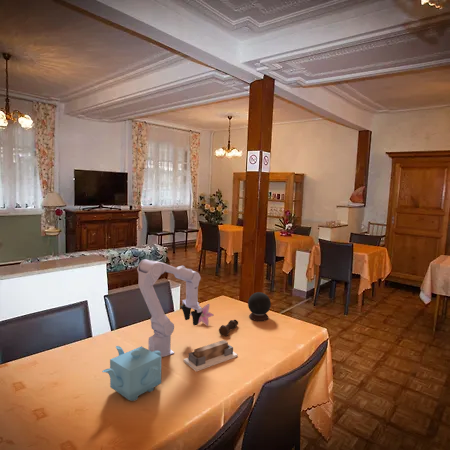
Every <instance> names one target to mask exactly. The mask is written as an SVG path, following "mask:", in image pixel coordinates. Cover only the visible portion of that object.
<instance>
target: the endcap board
mask: <svg viewBox="0 0 450 450" xmlns="http://www.w3.org/2000/svg"><path fill="white" fill-rule="evenodd" d="M238 356H239V355H238V353H236V352H235V351H234V347H233V346H231V345H230V344H229V343H228V348H226V349H224V354H223V355H221V356H218V357H215V358H212V359H209V360H206V357H205V356H203V357H200V358H197V357H195V356H194V351H192V352H188V357H186V358H183V362H184V363H185V364H186V365H187V366H188V367H190V368H191V369H193V370H194V371H195V372H199V371H202V370H204V369H207V368H209V367H213V366H215V365H218V364H220V363H223V362H224V363H225V362H227V361H228V360H232V359H235V358H237V357H238ZM205 360H206V361H205Z"/></svg>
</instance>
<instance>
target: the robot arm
mask: <svg viewBox="0 0 450 450" xmlns="http://www.w3.org/2000/svg"><path fill="white" fill-rule="evenodd" d="M136 270H137V274H138V280H137V281H138V285H137V286H138V288H139V290H140V292H141V293H140V294H141V295H142V297H143V300H144V302H145V303H146V306H147V308H148V311H149V313H150V315H151V318H150V323H151V324H150V327H151V329H152V330H153V335H151V336H150V337H148V350H150V351H152V352H153V351H160V352H161V358H163V357H164V358H165V357H168V356H170V355H174V354H175V351H173V350H172V349H171V342H172V340H171V339H172V338H171V337H172V334H173V333H174V331H175V324H174V323H173V322H172V321H171V319H170V318H169V317H168V316H167V315H166V314H165V312H164V309H163V307H162V304H161V302H160V300H159V298H158V294H157V293H156V291H155V288H154V285H155V284H156V282H157V281H158V280H159V278H160V277H161V275H163V274H164V273H168V274H172V275H174V278H176V279H178V280H181V281H184V282H185V299H182V300H181V304H182V305H181V306H180V309H181V310H182V312H183V316H184V317H183V318H184V321H188V320H190V319H191V317H192V325H193V326H198V325H199V324H198V322H199V318H200V316H201V314H202V313H203V311H202V308H203V307H202V306H200V302H198V301H199V300H198V298H199V294H198V293H199V285H200V282H201V279H202V277H201V275H200V273H199V272H198V271H195V270H193V269H192V268H186V266H185V265H179V266H177V267H176V266H173V265H170V264H168V263H165V262H162V261H157V260H151V259H150V260H149V259H146V258H145V259H142V260H140V262H139V263H138V266H137V268H136ZM201 307H202V308H201ZM192 309H193V310H192ZM191 310H192V311H191ZM190 313H191V314H192V316H191V315H190Z"/></svg>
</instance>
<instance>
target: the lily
mask: <svg viewBox="0 0 450 450" xmlns="http://www.w3.org/2000/svg"><path fill="white" fill-rule="evenodd" d="M210 305H211V304H210V303H207V304H206V305H204V306H203V307H202V306H200V307H201V308H202V311H203V313H202V314H201V316H200V318H199V322H198V325H199V324H201V322H202V323H203V324H204V325H205V326H207V327H208V326H209V318H211V317H213V316H214V313H211V312H209V311H210ZM190 317H192V314H191V312H190Z"/></svg>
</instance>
